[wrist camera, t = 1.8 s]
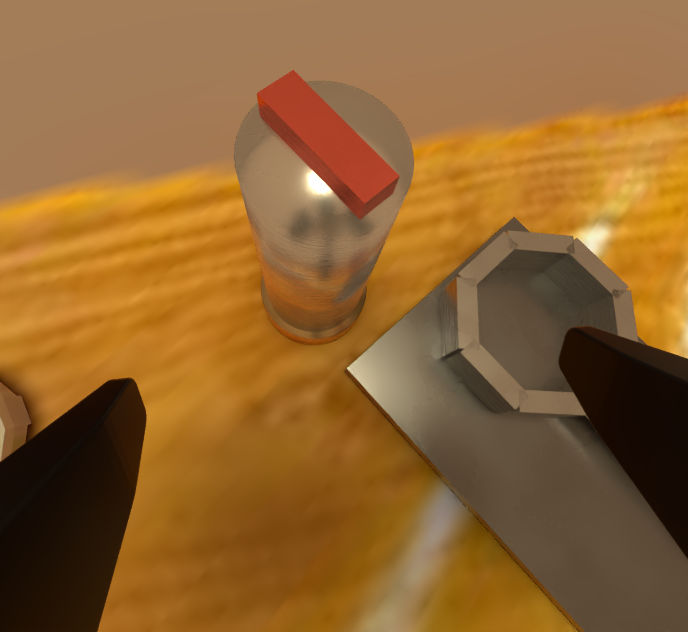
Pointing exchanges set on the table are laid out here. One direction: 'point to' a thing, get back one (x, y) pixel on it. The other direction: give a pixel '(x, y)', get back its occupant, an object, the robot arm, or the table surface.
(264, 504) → the table surface
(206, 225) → the table surface
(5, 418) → the grey long bar
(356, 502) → the table surface
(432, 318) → the metal plate with ring
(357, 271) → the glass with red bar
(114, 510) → the robot arm
